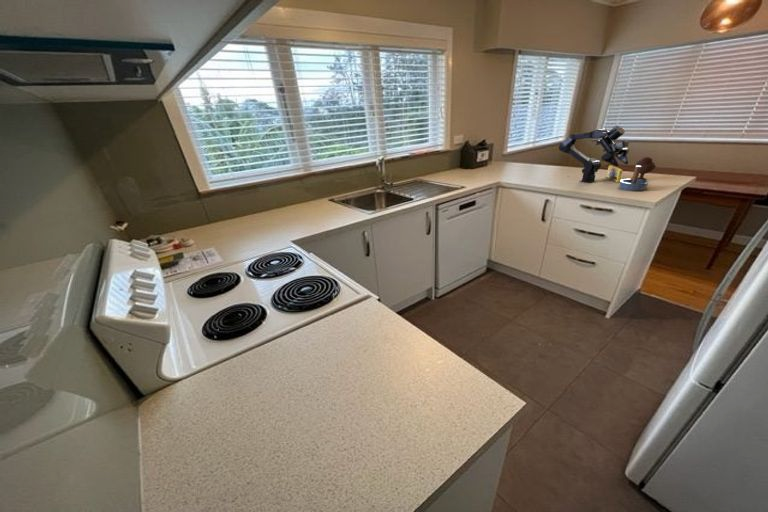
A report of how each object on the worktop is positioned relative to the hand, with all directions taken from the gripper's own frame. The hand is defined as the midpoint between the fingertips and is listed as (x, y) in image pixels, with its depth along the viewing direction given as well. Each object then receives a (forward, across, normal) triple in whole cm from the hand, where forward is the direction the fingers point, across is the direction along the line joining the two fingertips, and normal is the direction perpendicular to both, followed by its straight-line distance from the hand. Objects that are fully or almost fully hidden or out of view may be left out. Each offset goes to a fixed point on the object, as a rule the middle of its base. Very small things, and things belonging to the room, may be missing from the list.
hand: (622, 165), depth 184 cm
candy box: (+1, +16, +18) cm, 24 cm away
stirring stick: (+15, 0, +3) cm, 15 cm away
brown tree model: (+9, +26, +10) cm, 29 cm away
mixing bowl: (+15, 0, +4) cm, 16 cm away
